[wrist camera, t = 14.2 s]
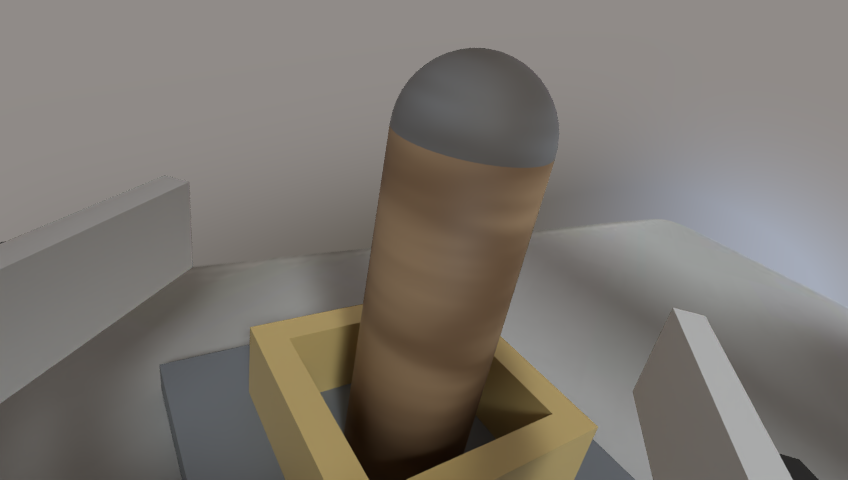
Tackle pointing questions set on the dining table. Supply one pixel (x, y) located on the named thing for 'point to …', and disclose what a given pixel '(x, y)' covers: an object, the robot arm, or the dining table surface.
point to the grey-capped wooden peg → (446, 254)
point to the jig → (327, 409)
